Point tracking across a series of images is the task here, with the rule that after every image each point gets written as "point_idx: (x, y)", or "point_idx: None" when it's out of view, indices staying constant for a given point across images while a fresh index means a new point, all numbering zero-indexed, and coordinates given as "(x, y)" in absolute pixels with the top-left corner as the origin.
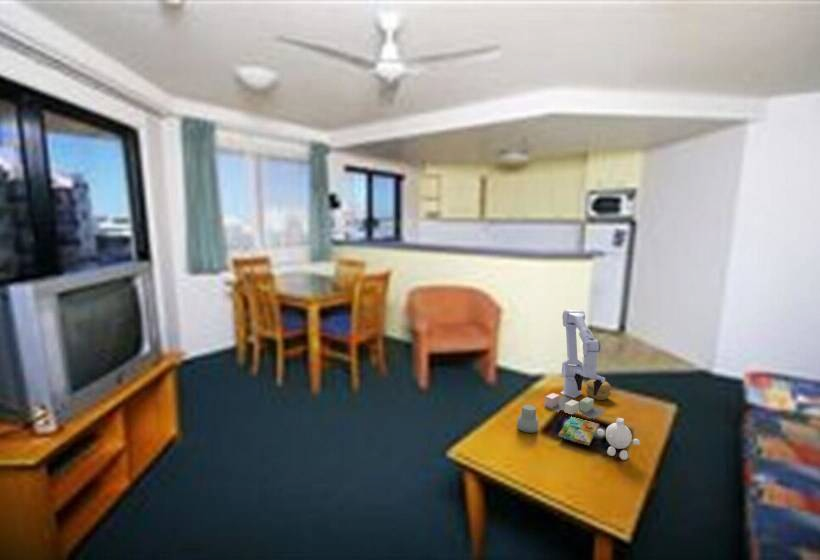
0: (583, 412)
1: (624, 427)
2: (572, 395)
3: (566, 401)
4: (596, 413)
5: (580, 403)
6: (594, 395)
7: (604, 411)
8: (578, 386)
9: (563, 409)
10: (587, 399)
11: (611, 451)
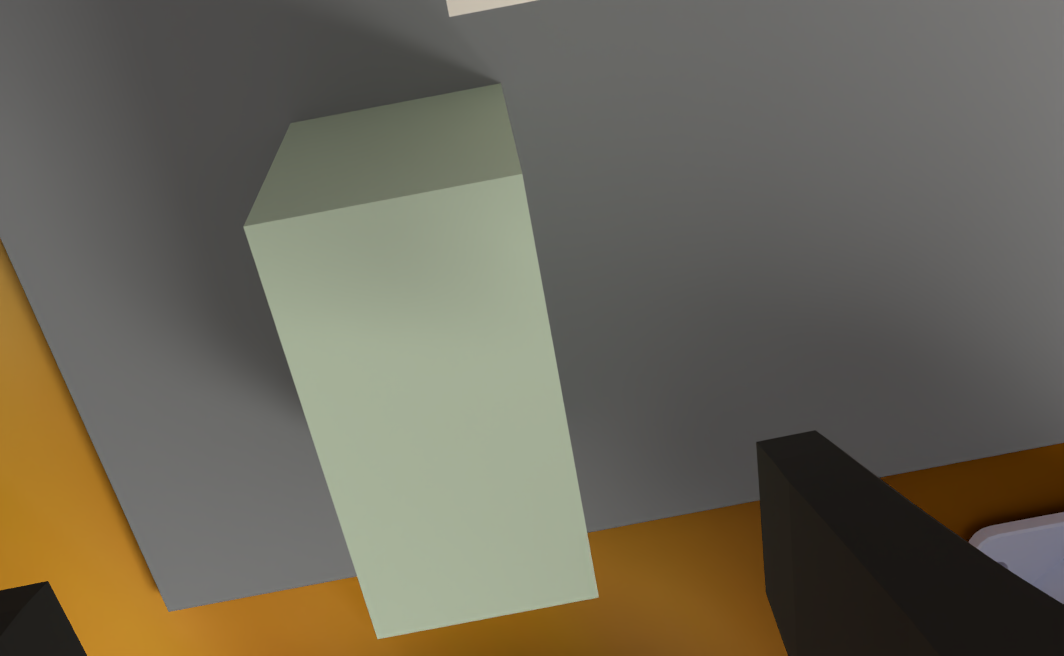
0: (318, 34)
1: None
2: (1052, 579)
3: (1006, 218)
4: (133, 307)
5: (495, 147)
6: (5, 592)
7: (153, 553)
8: (880, 544)
9: None
10: (459, 469)
11: None
